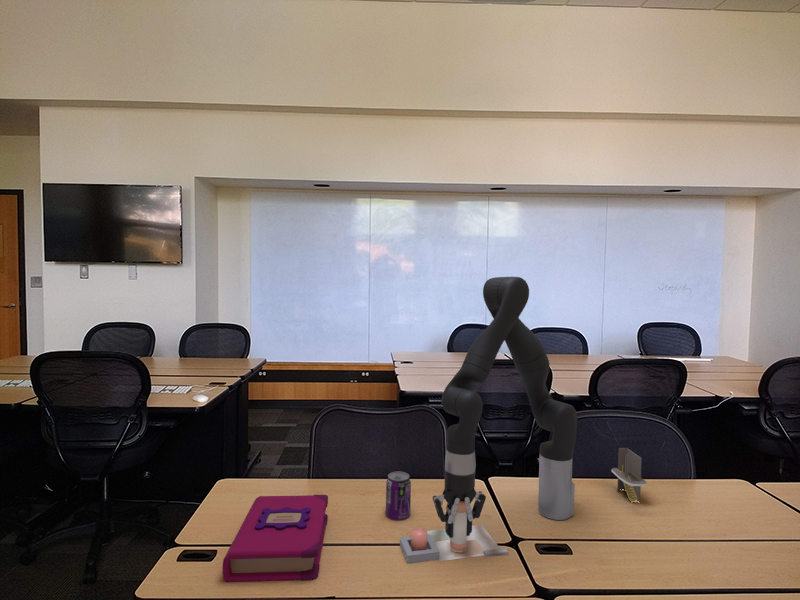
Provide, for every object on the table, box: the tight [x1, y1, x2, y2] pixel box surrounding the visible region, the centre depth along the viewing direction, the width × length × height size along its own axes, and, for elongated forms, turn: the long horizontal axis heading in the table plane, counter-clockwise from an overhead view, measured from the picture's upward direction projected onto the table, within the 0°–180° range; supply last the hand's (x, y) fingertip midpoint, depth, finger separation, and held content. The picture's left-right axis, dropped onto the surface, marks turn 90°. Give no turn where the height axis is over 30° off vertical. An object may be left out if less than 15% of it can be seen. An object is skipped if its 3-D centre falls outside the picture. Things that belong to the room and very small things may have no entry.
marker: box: [450, 501, 467, 552], centre depth 115 cm, size 4×4×12 cm
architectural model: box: [611, 447, 648, 503], centre depth 147 cm, size 20×25×15 cm
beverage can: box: [385, 471, 412, 521], centre depth 132 cm, size 7×7×12 cm
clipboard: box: [427, 524, 510, 562], centre depth 119 cm, size 20×16×1 cm
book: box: [222, 494, 329, 583], centre depth 117 cm, size 21×28×8 cm
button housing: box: [399, 534, 440, 564], centre depth 114 cm, size 8×8×2 cm
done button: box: [410, 527, 428, 551], centre depth 114 cm, size 4×4×4 cm
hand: (458, 534), depth 115 cm, fingers closed on marker, 4 cm apart
